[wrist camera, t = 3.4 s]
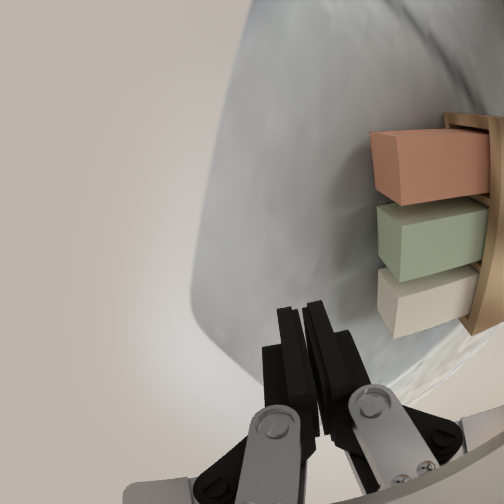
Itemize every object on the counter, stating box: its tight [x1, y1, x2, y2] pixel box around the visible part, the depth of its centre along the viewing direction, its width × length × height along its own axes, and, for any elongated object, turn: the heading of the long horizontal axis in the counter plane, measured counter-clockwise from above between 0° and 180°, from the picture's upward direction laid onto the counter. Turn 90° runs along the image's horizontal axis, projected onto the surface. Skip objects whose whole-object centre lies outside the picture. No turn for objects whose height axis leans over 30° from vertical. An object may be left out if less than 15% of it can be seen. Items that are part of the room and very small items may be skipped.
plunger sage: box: [377, 196, 489, 283], centre depth 14 cm, size 3×9×3 cm, turn 102°
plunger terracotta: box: [369, 129, 491, 206], centre depth 12 cm, size 3×9×3 cm, turn 102°
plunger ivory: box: [377, 263, 480, 339], centre depth 15 cm, size 3×9×3 cm, turn 102°
